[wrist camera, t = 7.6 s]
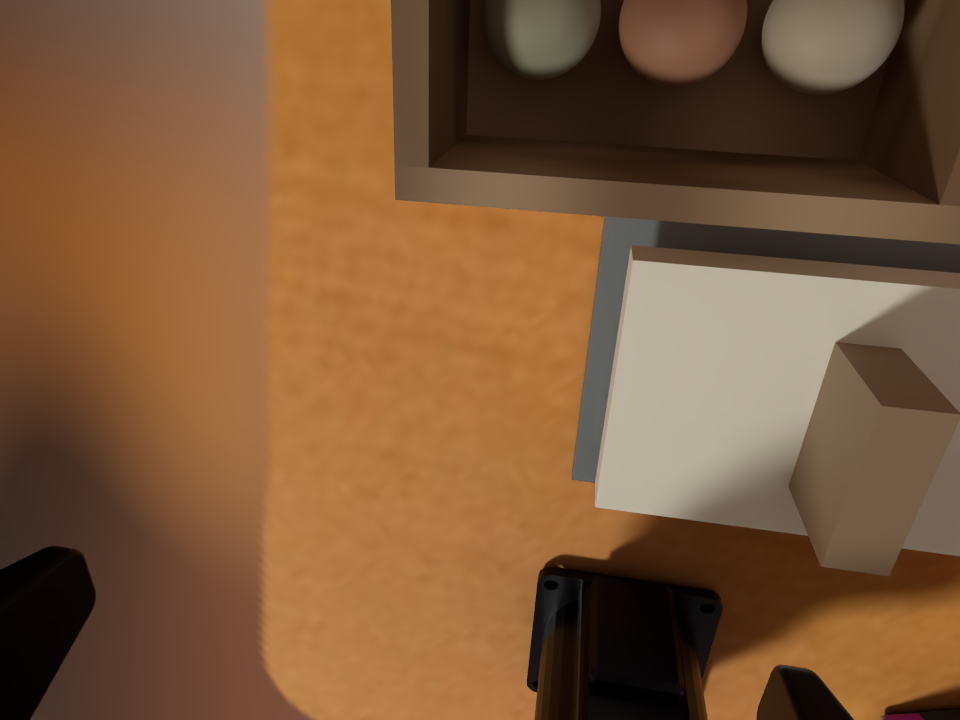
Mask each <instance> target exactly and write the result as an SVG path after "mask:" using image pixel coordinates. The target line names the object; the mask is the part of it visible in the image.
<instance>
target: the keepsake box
mask: <svg viewBox="0 0 960 720" xmlns="http://www.w3.org/2000/svg"><path fill="white" fill-rule="evenodd" d="M391 18H392V63H393V108H394V153H395V198H396V200H405V201H418V202H430V203H443V204H456V205H468V206H481V207H494V208H506V209H519V210H531V211H544V212H557V213H569V214H582V215H595V216H607V217H620V218H632V219H645V220H658V221H670V222H683V223H696V224H708V225H721V226H733V227H746V228H759V229H771V230H784V231H796V232H809V233H822V234H834V235H847V236H860V237H872V238H885V239H897V240H910V241H923V242H935V243H948V244H960V0H391Z"/></svg>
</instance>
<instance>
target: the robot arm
mask: <svg viewBox="0 0 960 720" xmlns="http://www.w3.org/2000/svg"><path fill="white" fill-rule="evenodd" d="M548 580H553V581H556V582H549V581H548ZM95 601H96V589H95V586H94V583H93V580H92V577H91V573H90V570H89V567H88V564H87V561H86V558H85V555H84V554H83V553H82V552H81V551H80V550H78V549H73V548H67V547H61V546H49V547H46V548H43V549H41V550H39V551H37V552H35V553H33V554H31V555H29V556H27V557H25V558H23V559H21V560H19V561H17V562H15V563H13V564H11V565H9V566H7V567H5V568H3V569H0V720H30V719H31V717H32V716H33V714H34V712H35V710H36V709H37V707H38V706H39V704H40V703H41V700H42V699H43V697H44V695H45V694H46V692H47V690H48V688H49V687H50V685H51V683H52V681H53V680H54V678H55V676H56V674H57V673H58V671H59V669H60V667H61V665H62V664H63V662H64V660H65V658H66V657H67V655H68V653H69V651H70V650H71V647H72V646H73V644H74V643H75V641H76V639H77V637H78V635H79V633H80V632H81V630H82V628H83V627H84V625H85V623H86V621H87V620H88V618H89V616H90V614H91V612H92V610H93V608H94V605H95ZM705 603H709V605H703V604H705ZM721 613H722V604H721V599H720V597H719V595H718V594H717V593H716V592H714V591H711V590H707V589H701V588H694V587H687V586H680V585H673V584H666V583H659V582H653V581H646V580H639V579H632V578H625V577H618V576H611V575H605V574H598V573H591V572H584V571H577V570H570V569H563V568H557V567H546V568H543V569H542V570H541V571H540V572H539V575H538V583H537V593H536V602H535V611H534V621H533V630H532V639H531V648H530V658H529V667H528V676H527V686H528V687H529V688H530V689H531V690H532V691H534V692H537V700H536V711H535V720H708V719H707V713H706V706H705V700H704V693H703V687H702V677H703V674H704V670H705V667H706V663H707V660H708V657H709V653H710V650H711V646H712V643H713V640H714V636H715V633H716V630H717V626H718V623H719V619H720V616H721ZM757 720H854V719H853V718H852V717H851V716H850V714H849V713H848V712H847V711H846V709H845V708H844V707H843V706H842V704H841V703H840V702H839V701H838V700H837V698H836V697H835V696H834V695H833V693H832V692H831V691H830V690H829V688H828V687H827V686H826V685H825V684H824V682H823V681H822V680H821V679H820V677H819V676H818V675H817V674H815V673H814V672H813V671H811V670H809V669H805V668H799V667H793V666H787V665H777V666H776V667H775V668H774V669H773V671H772V672H771V675H770V678H769V680H768V683H767V685H766V688H765V691H764V693H763V696H762V698H761V701H760V704H759V707H758V711H757Z"/></svg>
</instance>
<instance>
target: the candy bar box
mask: <svg viewBox="0 0 960 720" xmlns="http://www.w3.org/2000/svg"><path fill="white" fill-rule="evenodd" d="M881 720H960V709H953V710H942V711H930V712H917V713H904V714H891V715H886V716H882V717H881Z"/></svg>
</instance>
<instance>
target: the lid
mask: <svg viewBox="0 0 960 720" xmlns="http://www.w3.org/2000/svg"><path fill="white" fill-rule="evenodd" d="M595 507H597V508H605V509H612V510H620V511H627V512H635V513H642V514H649V515H657V516H664V517H672V518H679V519H686V520H694V521H701V522H709V523H716V524H724V525H731V526H738V527H746V528H753V529H761V530H768V531H776V532H783V533H790V534H798V535H805V536H809V539H810V541H811V544H812V546H813V549H814V551H815V554H816V556H817V559H818V561H819V564H820V566H821V567H826V568H833V569H840V570H847V571H855V572H862V573H869V574H876V575H883V576H890V573H891V571H892V569H893V567H894V565H895V562H896V560H897V558H898V556H899V553H900V551H901V549H909V550H917V551H924V552H931V553H939V554H946V555H954V556H960V273H951V272H940V271H928V270H916V269H905V268H893V267H881V266H870V265H858V264H846V263H835V262H823V261H811V260H799V259H788V258H776V257H764V256H753V255H741V254H729V253H718V252H706V251H694V250H683V249H671V248H659V247H648V246H636V245H631V248H630V255H629V261H628V268H627V274H626V281H625V288H624V294H623V301H622V308H621V314H620V321H619V327H618V334H617V341H616V347H615V354H614V361H613V367H612V374H611V380H610V387H609V394H608V400H607V407H606V414H605V420H604V427H603V433H602V440H601V447H600V453H599V460H598V467H597V473H596V480H595Z"/></svg>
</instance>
